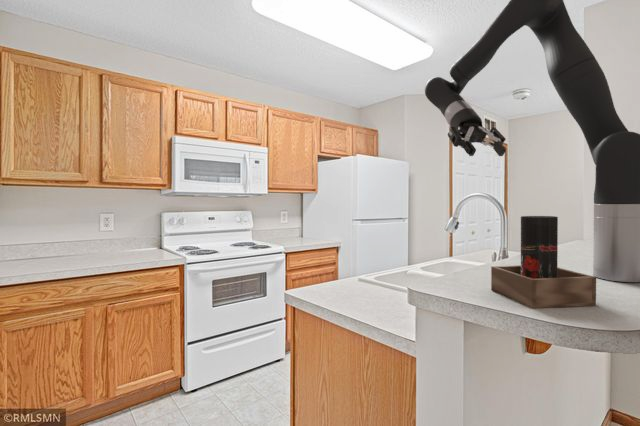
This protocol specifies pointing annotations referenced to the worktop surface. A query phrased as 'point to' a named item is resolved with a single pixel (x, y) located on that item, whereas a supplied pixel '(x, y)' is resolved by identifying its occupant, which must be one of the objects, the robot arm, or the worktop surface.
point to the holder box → (544, 288)
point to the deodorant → (539, 246)
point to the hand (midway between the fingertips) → (488, 153)
